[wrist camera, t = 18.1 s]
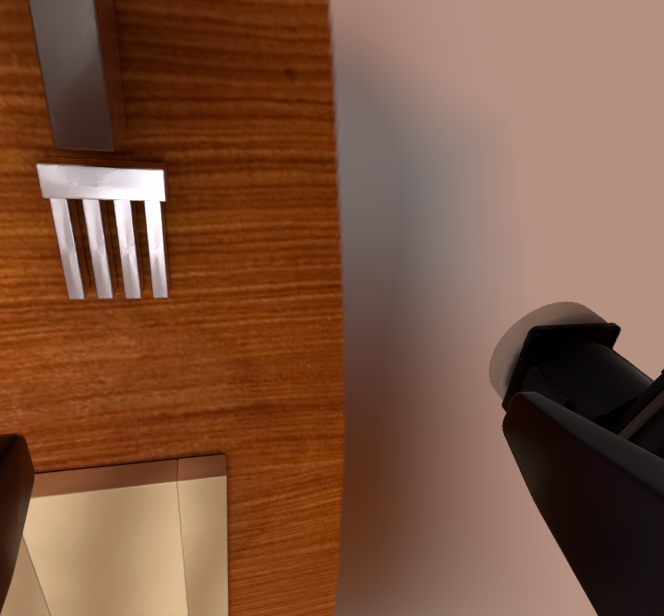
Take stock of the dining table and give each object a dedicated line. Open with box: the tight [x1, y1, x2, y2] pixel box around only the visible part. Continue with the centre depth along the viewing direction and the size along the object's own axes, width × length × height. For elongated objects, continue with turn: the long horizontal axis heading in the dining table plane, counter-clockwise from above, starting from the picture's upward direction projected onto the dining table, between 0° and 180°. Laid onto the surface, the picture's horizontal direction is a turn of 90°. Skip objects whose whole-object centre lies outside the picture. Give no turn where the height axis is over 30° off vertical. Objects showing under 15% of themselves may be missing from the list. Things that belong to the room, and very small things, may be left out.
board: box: [0, 454, 228, 616], centre depth 28 cm, size 12×24×2 cm, turn 174°
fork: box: [27, 0, 170, 300], centre depth 14 cm, size 4×15×3 cm, turn 174°
